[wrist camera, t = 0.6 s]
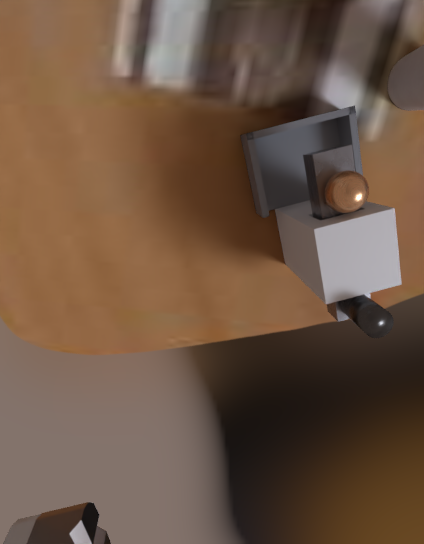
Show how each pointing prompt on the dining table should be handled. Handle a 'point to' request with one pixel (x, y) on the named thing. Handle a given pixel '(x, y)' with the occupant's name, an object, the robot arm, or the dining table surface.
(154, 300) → the dining table surface
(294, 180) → the tray
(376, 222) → the block
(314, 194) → the shaft
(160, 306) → the dining table surface
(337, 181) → the copper ball
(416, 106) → the coffee cup
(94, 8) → the dining table surface
